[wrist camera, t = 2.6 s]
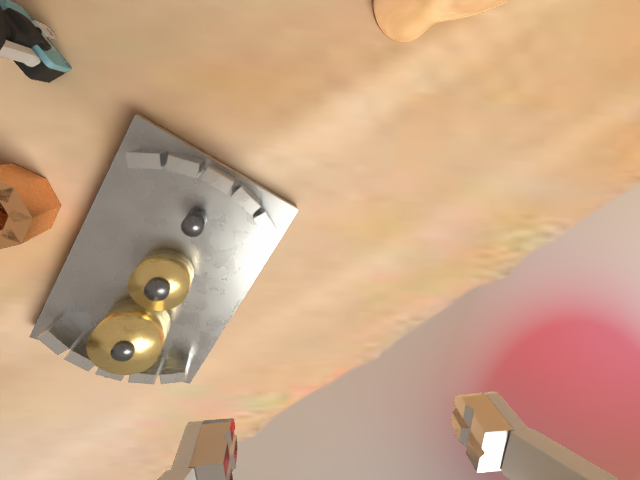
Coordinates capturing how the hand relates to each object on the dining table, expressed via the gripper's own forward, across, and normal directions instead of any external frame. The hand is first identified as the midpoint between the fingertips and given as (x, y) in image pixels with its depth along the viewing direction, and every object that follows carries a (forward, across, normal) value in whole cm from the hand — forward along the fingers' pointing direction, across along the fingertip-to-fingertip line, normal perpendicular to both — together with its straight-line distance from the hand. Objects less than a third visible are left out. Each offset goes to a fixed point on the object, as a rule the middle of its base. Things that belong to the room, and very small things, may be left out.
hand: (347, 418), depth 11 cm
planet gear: (+21, +25, -5) cm, 33 cm away
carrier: (+22, +14, +3) cm, 27 cm away
